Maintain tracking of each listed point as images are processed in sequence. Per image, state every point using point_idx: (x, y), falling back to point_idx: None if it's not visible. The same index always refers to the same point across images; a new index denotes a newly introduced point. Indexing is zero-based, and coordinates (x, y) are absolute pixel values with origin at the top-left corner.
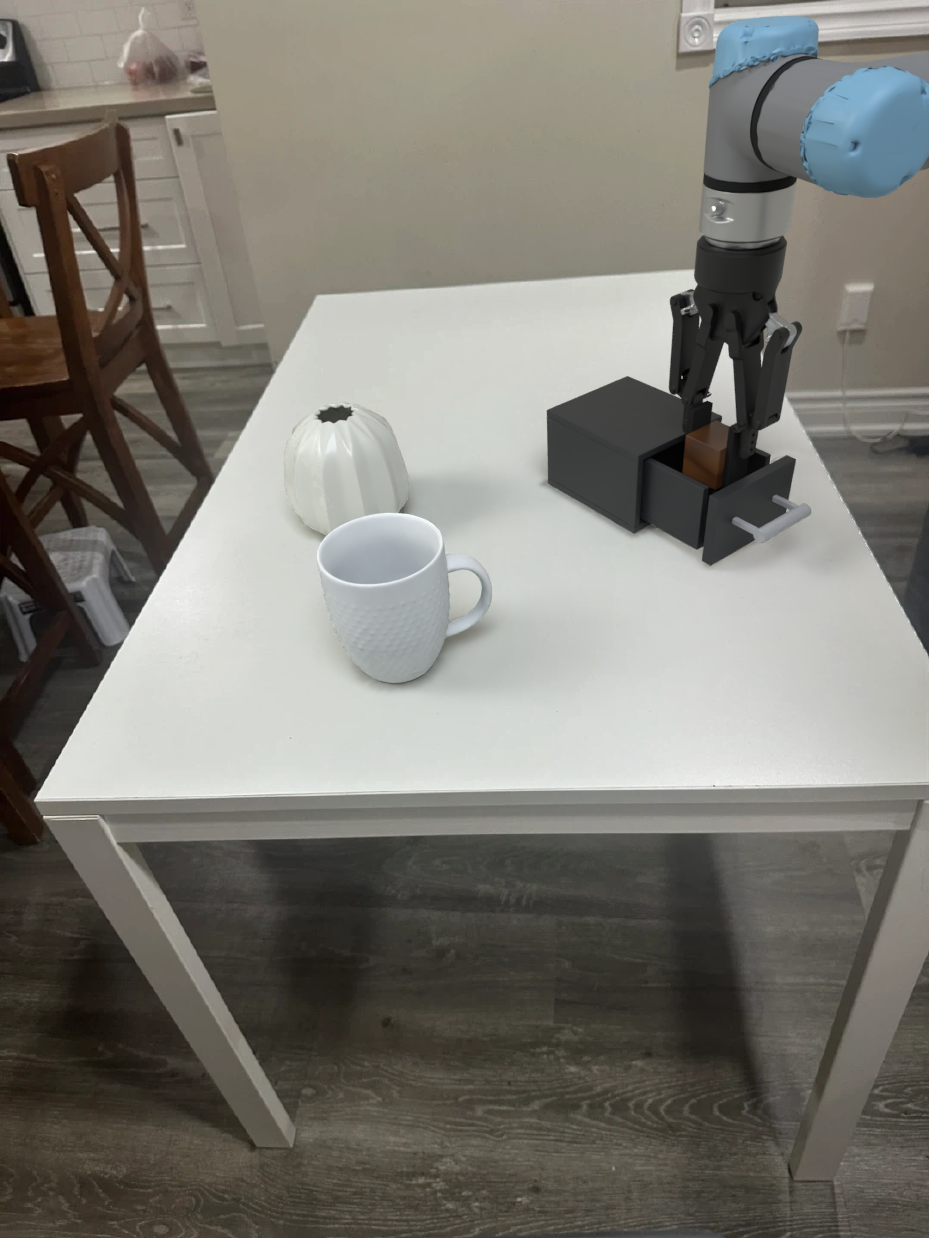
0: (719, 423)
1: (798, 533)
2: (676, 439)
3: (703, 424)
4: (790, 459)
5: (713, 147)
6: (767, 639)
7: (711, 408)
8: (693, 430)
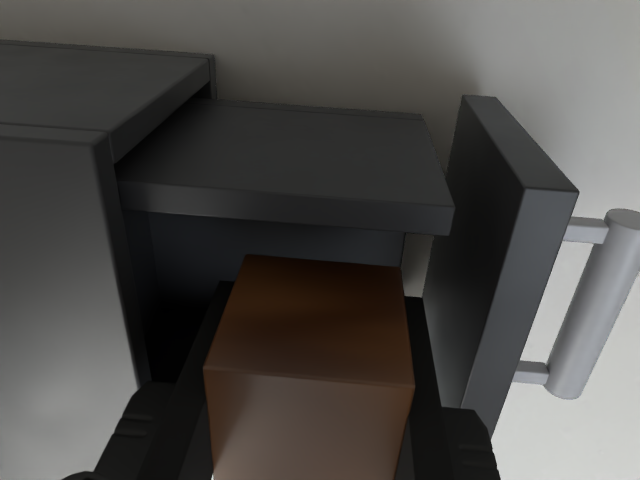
0: (234, 379)
1: (533, 69)
2: (143, 384)
3: (205, 437)
4: (557, 208)
5: None
6: (622, 398)
7: (181, 467)
8: (211, 470)
